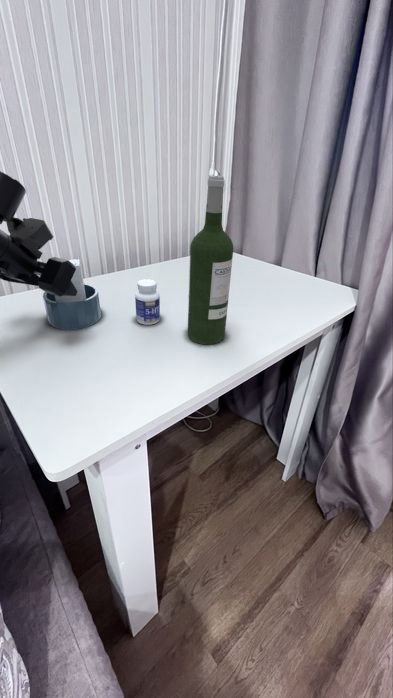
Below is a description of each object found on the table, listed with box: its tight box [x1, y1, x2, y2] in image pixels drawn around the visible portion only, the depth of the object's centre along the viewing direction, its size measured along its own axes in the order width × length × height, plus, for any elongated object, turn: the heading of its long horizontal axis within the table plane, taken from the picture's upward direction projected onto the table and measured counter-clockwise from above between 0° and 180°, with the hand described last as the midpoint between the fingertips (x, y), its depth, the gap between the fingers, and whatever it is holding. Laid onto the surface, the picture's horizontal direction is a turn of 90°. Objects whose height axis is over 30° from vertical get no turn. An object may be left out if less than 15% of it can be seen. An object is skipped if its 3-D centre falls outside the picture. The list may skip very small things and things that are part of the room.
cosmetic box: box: [55, 259, 86, 303], centre depth 71 cm, size 6×4×12 cm
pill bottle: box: [134, 278, 161, 326], centre depth 73 cm, size 5×5×9 cm
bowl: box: [42, 283, 102, 330], centre depth 73 cm, size 11×11×6 cm
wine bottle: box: [187, 175, 234, 346], centre depth 62 cm, size 8×8×30 cm
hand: (59, 288), depth 68 cm, fingers open, 9 cm apart
